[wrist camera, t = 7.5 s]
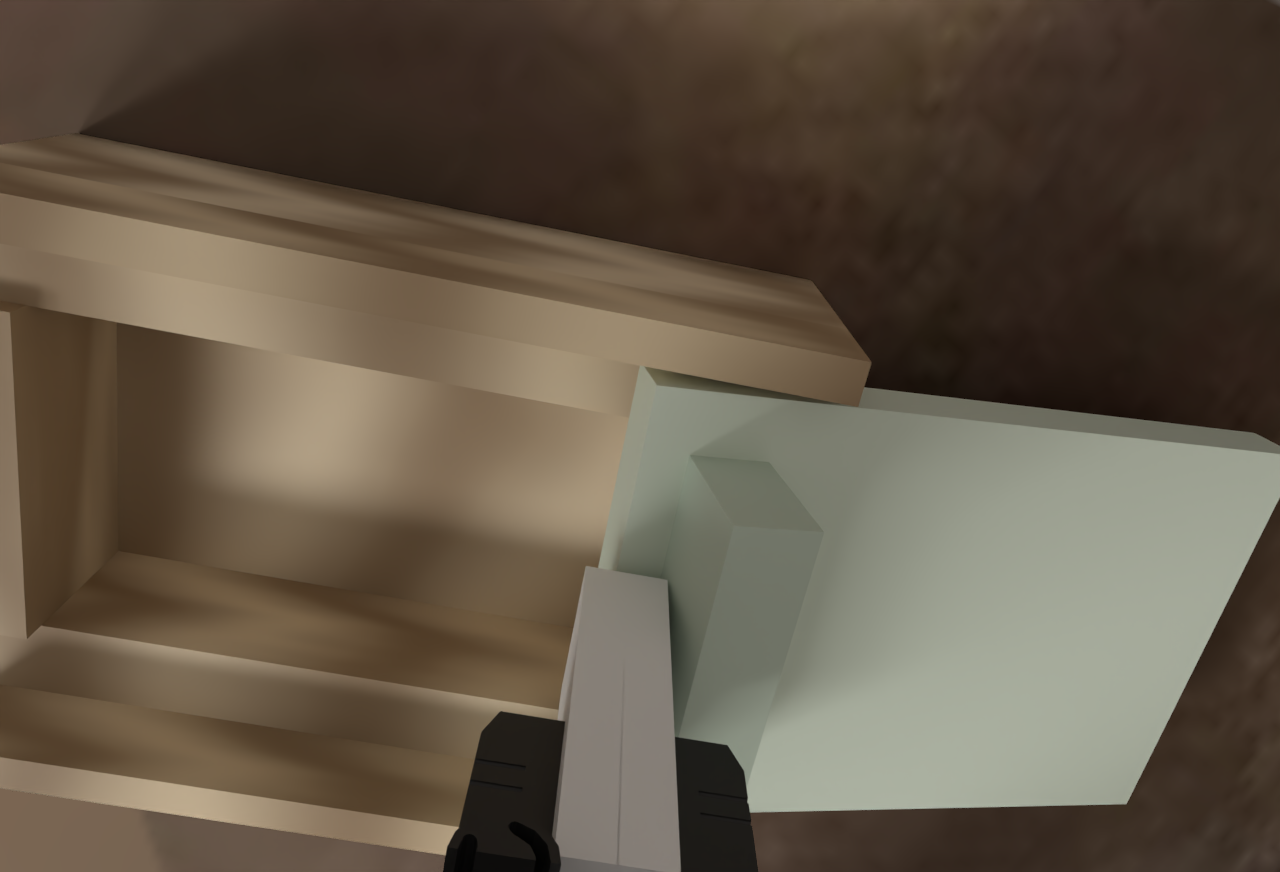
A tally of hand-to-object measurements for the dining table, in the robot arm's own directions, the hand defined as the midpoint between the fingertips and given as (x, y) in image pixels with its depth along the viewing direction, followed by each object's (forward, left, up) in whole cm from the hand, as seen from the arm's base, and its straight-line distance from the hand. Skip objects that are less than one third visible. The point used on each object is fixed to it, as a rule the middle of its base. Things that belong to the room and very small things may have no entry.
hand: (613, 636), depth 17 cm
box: (-5, 0, -6) cm, 8 cm away
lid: (+6, 0, -3) cm, 7 cm away
